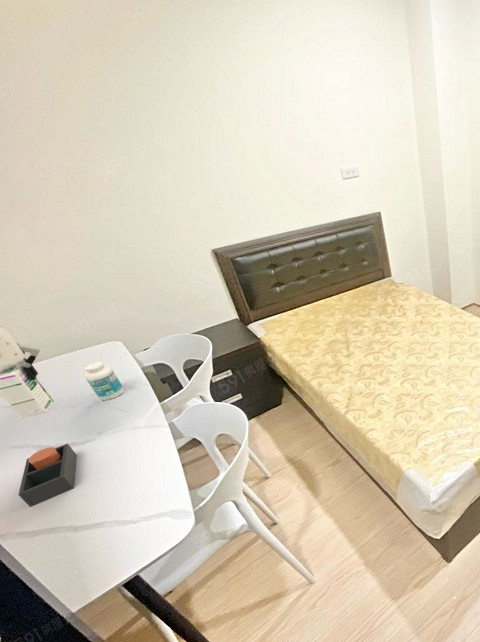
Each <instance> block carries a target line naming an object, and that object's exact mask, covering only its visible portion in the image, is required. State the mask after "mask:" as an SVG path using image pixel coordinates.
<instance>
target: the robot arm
mask: <svg viewBox="0 0 480 642" xmlns="http://www.w3.org/2000/svg"><path fill="white" fill-rule="evenodd" d="M40 351H41V350H40V348H38V347H34V346H29V345H24V344H20V343H19V342H18V341H17V340H16V338H14V336H13V335H12V334H10V332H8V330H6V329H5V328H4V327H3V326H1V325H0V368H3V367H7V366H11V365H15V364H20V365H22V366H24V371H25V372H26V373H27V374H28V376H29V377H30V378H31V380H35V379H37V376H38V375H39V373H38V371H37V369H36V368H35V367H34V366H33V363H34V362H35V360H36V358H37V356H39V353H40ZM26 353H30V355H29V356H28V357H25V355H26Z"/></svg>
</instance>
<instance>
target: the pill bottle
mask: <svg viewBox="0 0 480 642" xmlns="http://www.w3.org/2000/svg"><path fill="white" fill-rule="evenodd" d="M84 369H85V370H86V374H85V380H86V381H87V383H88V384H89V386H90V387H91V389H92V390H93V391H94V393H95V395H96V396H97V398H98V399H99V400H101V401H108V400H113V399H115V398H117V397H119V396H121V395H122V394H123V393H124V391H125V387H124V386H123V385H122V382H121V381H120V380H119V378H118V376H117V375H116V373H115V372H114V369H113V368H112V367H111V366H108V365H107V366H106V365H104V363H103V362H101V361H97V362H93V363H90V364H88V365H87V366H86V367H85V368H84Z"/></svg>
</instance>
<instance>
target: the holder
mask: <svg viewBox="0 0 480 642" xmlns="http://www.w3.org/2000/svg"><path fill="white" fill-rule="evenodd" d="M54 448H55V449H56V450H57V451H58V452H59V454H60V455H61V456H62V460H60V461H58V462H55V463H53V464H50V465H48V466H45V467H43V468H40V469H38V470H36V469H35V468H34V467H33V466H32V464H31V463H30V462H29V461H28V459H29V458H30V457H28V458H26V460H25V465H24V470H23V474H22V477H21V482H20V487H19V490H18V496H19V497H20V499H22V500H23V501H24V502H25V504H27V506H28V507H30V508H32V507H34V506H36V505H39V504H41V503H43V502H46V501H48V500H50V499H53V498H55V497H57V496H59V495H62V494H64V493H67V492H69V491H72V490H73V489H75V481H76V470H77V469H76V468H77V459H78V458H77V457H78V455H77V454H76V452H75V450H74V449H73V448H72V447H71V446H70V444H69V443H65V444H62V445H60V446H57V447H54Z"/></svg>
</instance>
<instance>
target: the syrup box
mask: <svg viewBox="0 0 480 642" xmlns="http://www.w3.org/2000/svg"><path fill="white" fill-rule="evenodd" d="M0 396H1V397H2V398H3V399H4V401H5V402H6V403H7V404H8V405H9V406H10V408H11V409H12V410H13V411H14V412H15V413H16V415H17V416H18V417H19V418H20V419H24V418H29V417H33V416H37V415H41V414H45V413H48V410H49V409H50V407H51V405H53V403H54V402H55V401H54V399H53V398H52V397H51V395H50V394H49V392H47V390H46V389H45V388H44V386H43V385H42V383H41V382H40V381H39V380H38V378H36V379H35V380H31V378H30V377H29V376H28V374H27V373H26V372H25V371H24V366H22V365H20V364H18V363H14V364H11V365H8V366H4V367H0Z"/></svg>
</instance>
